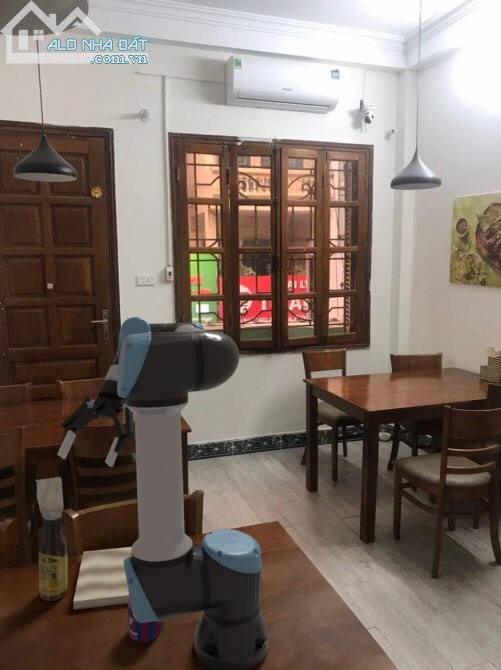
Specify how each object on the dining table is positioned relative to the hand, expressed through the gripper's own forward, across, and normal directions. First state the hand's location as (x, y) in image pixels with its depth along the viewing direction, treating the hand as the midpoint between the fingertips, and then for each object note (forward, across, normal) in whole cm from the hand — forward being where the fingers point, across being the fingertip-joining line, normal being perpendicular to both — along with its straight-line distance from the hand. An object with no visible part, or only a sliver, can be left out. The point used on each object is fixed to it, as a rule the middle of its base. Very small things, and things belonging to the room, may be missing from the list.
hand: (84, 460), depth 125 cm
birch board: (+22, -7, -20) cm, 30 cm away
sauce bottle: (+28, +2, -13) cm, 31 cm away
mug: (+30, -25, -12) cm, 40 cm away
